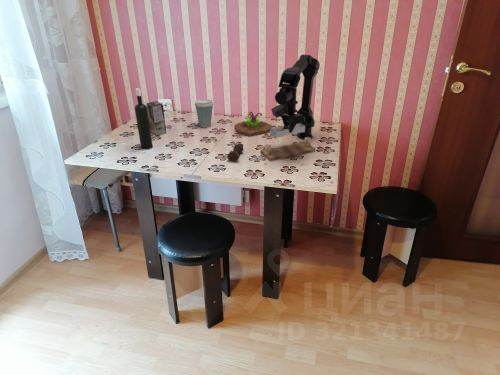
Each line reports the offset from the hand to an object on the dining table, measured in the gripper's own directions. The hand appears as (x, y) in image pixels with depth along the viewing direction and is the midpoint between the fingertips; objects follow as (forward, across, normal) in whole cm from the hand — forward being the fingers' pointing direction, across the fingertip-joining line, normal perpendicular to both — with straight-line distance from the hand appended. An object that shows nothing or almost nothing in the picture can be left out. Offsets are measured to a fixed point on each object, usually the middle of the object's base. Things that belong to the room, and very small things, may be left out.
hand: (288, 131), depth 178 cm
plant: (+12, -36, -3) cm, 38 cm away
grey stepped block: (+1, 0, 0) cm, 1 cm away
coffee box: (+11, -55, -52) cm, 76 cm away
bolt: (+12, -7, -24) cm, 27 cm away
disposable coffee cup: (+11, -53, -25) cm, 60 cm away
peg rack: (+11, 0, 0) cm, 11 cm away
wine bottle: (+11, -36, -62) cm, 72 cm away
